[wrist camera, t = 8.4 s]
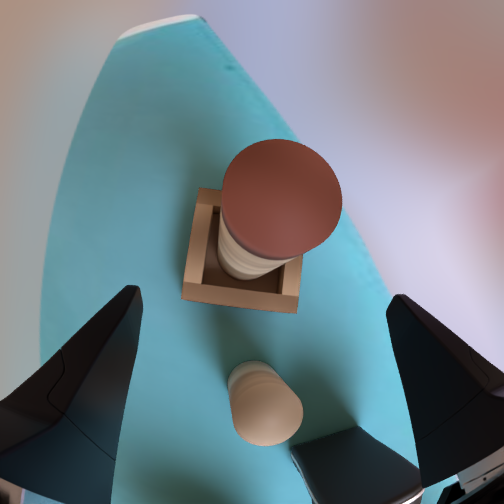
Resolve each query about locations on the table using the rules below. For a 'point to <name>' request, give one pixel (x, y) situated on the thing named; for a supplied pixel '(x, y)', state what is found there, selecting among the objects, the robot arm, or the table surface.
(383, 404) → the table surface
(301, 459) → the battery charger
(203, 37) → the table surface
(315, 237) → the long pin
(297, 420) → the short pin
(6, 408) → the robot arm
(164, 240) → the table surface
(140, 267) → the table surface
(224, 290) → the light brown square frame
